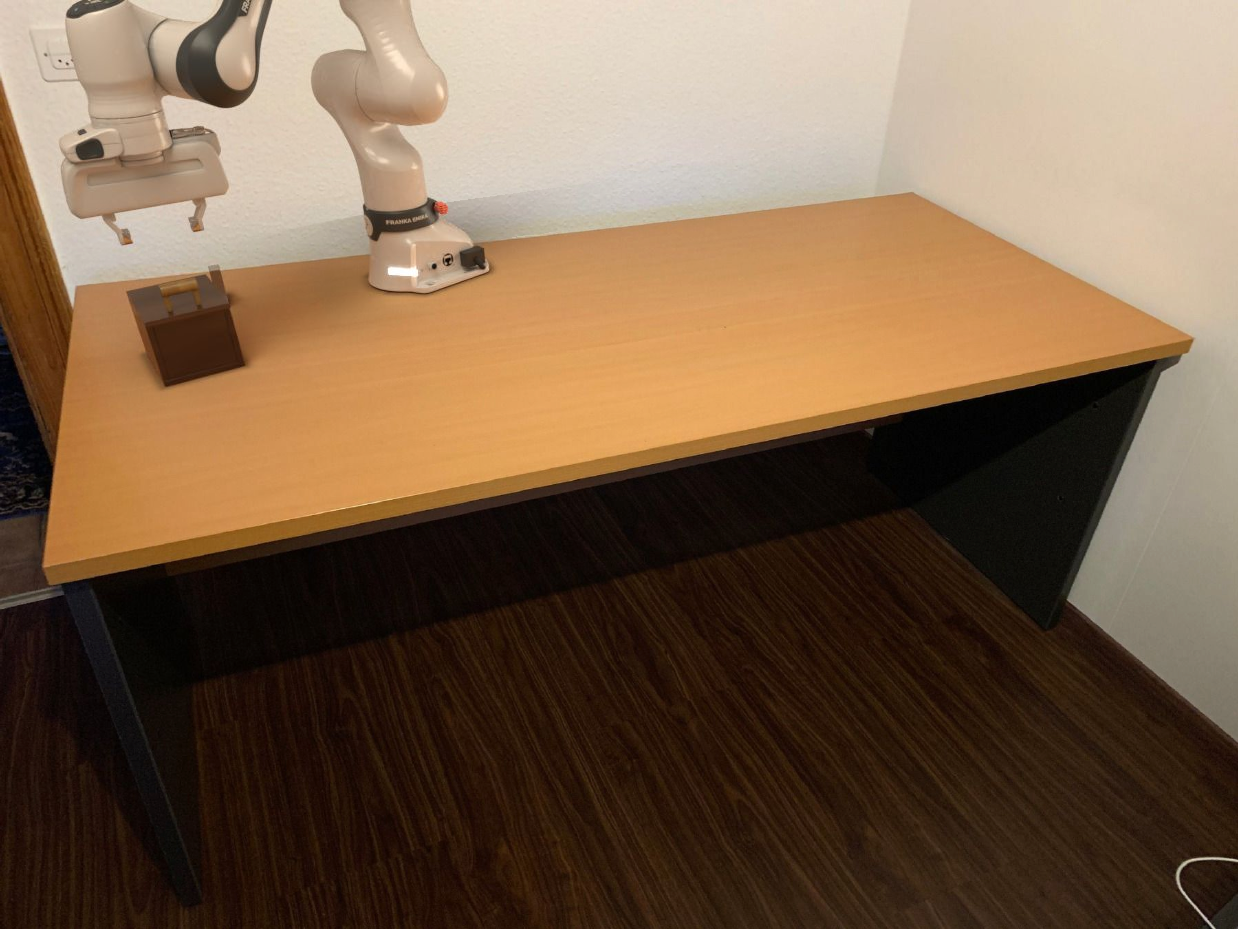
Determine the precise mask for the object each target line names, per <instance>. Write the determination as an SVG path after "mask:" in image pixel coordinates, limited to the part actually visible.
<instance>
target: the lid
mask: <svg viewBox="0 0 1238 929" xmlns="http://www.w3.org/2000/svg"><path fill="white" fill-rule="evenodd" d="M125 294H126V296H127V299H128V298H129V299H130V301H131V303H132V304H133V306H134V308H135V309H136V311H137V313H138V315H139V316H140V318H141V320H142V321H143V323H144V325H145V326H146V327H151V326H155V325H159V324H164V323H168V322H172V321H176V320H181V319H185V318H189V317H193V316H198V315H202V314H206V313H211V312H215V311H219V310H223V309H228V308H230V309H231V308H232V307H231V303H230V302H228V301H229V300H228V301H227V300H226V298H225V297H224V296H223V295H222V294H221V292H220V291H219V290H218V289H217V287H216V286H215V285H214V284H213V283H212V279H211V278H209V276H208V275H207V274H206V273H204V274H199V275H195V276H190V277H186V278H182V279H177V280H171V281H167V282H162V283H158V284H153V285H148V286H143V287H139V288H135V289H130V290H126V291H125ZM129 299H128V300H129Z"/></svg>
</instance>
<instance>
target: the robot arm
mask: <svg viewBox="0 0 1238 929" xmlns="http://www.w3.org/2000/svg"><path fill="white" fill-rule="evenodd" d="M338 3H339V7H340V9H341V11H342V13H343V14H344V15H345V16H346V17H347V19H349V20H350V21H351V22H352V23H354V25H355V26H356V28H357V30H358V31H359V33H360V35H361V37H362V40H363V43H364V47H365V50H363V49H352V48H344V49H339V50H334V51H329V52H326V53H323V54H321V55H319V57H317V59H316V60H315V61H314V65H313V66H312V68H311V75H310V84H311V90H312V93H313V96H314V98H315V100H316V101H317V103H318V104H319V106H320V107H321V108H323V109H324V110H325V111H326V112H327V113H328V114H329V115H330V116H331V117H332V118H333V120H334V121H335V123H336V124H337V126H338V127H339V129H340V130H341V132H342V134H343V136H344V138H345V140H346V142H347V143H348V146H349V147H350V150H351V152H352V155H353V157H354V161H355V163H356V166H357V171H358V176H359V181H360V187H361V191H362V196H363V202H364V203H363V204H362V211H363V221H364V228H365V231H366V234H367V237H368V239H369V240H368V241H369V271H368V279H367V282H368V283H369V285H370V286H372V287H374V288H376V289H379V290H382V291H388V292H412V293H417V294H428V293H429V294H430V293H432V292H435V291H438V290H440V289H443V288H446V287H449V286H452V285H456V284H458V283H461V282H464V281H466V280H469V279H472V278H476V277H477V276H481V275H483V274H486V273H488V272H490V263H489V261H488V260H487V258H486V254H485V248H484V247H482V246H480V245H474V243H473V240H472V239H471V237H470V236H469V235H468V233H467V232H465V231H464V230H463V229H461V228H459V227H457V226H456V225H454V224H453V223H451V222H450V221H447V219H444V218H443V217H441V215H442V216H444V215H446V214H448V212H449V209H450V208H449V205H447V203H445V202H443V201H441V200H440V201H438V200H436V199H434V198H432V197H428V193H427V185H426V179H425V178H426V176H425V168H424V162H423V158H422V156H421V154H420V152H419V151H418V149H416V147H414V146H413V145H412V144H411V143H410V142H409V141H408V140H407V139H406V138H405V136H404V135H403V133H402V132H401V130H400V128H399V126H403V127H416V126H422V125H429V124H434V123H436V122H437V121H438V120H440V118H442V116H443V114H444V113H445V112H446V109H447V106H448V103H449V96H450V95H449V94H450V93H449V83H448V81H447V80H448V79H447V77H446V75H445V73H444V72H443V70H442V68H441V67H440V66H439V65H438V64H437V63H436V62H435V61H434V60H433V58H432V57H431V56H430V55H429V53H428V52H427V50H426V49H425V47H424V44H423V42H422V40H421V38H420V35H419V33H418V30H417V27H416V23H415V20H414V17H413V11H412V5H411V0H338ZM272 4H273V0H216V5H215V7H214V10H213V11H212V12H211V13H210V14H209V15H208V16H206V18H204V19H202V20H200V21H190V20H182V19H175V18H171V17H168V16H163V15H160V14H157V13H154V12H151V11H149V10H146V9H144V8H142V7H140V6H138V5H136V4H134V3H132V2H131V1H129V0H79V1H76V2H75V3H73V4H72V5H71V6H70V7H69V8H68V9H67V10H66V13H65V18H64V25H65V35H66V39H67V44H68V48H69V52H70V56H71V60H72V64H73V67H74V70H75V74H76V77H77V80H78V82H79V83H80V85H81V87H82V88H83V90H84V92H85V95H86V98H87V112H88V116H89V119H90V123H87V124H85V125H84V126H82V127H79V128H77V129H75V130H73V131H71V132H69V133H66V134H64V135H62V136H61V137H60V138H59V140H58V146H59V149H60V152H61V154H62V155H63V157H64V158H63V160H62V162H61V164H60V176H61V183H62V188H63V192H64V197H65V201H66V204H67V208H68V209H69V211H70V213H71V214H72V215H73V216H74V217H76V218H78V219H79V220H83V219H90V218H96V217H101V218H102V220H103V222H104V223H105V224H106V225H107V226H108V227H109V228H110V229H111V230H112V231H113V232H115V234H116V235H117V238H118V242H119V244H120V246H127V245H131V244H133V243H134V241H133V238H132V236H131V231H130V230H129V229H128V228H120V226H118V225H117V224H116V223H115V222H117V218H116V214H120V213H125V212H129V211H136V210H143V209H149V208H155V207H161V206H167V205H172V204H178V203H183V202H192V204H193V205H194V206H195V210H194V214H193V216H188V217H187V219H188V220H187V221H188V223H189V226H190V229H191V231H192V232H193V233H196V232H197V233H198V232H202V231H205V226H204V223H203V218H204V215H205V212H206V209H207V202H206V198H212V197H218V196H225V195H226V194H227V192H228V190H229V188H230V185H229V181H228V177H227V174H226V172H225V167H224V166H223V164H222V162H221V158H220V155H221V151H222V148H221V142H220V140H219V137H218V135H217V133H216V132H215V131H214V130H212V129H210V128H207V127H205V126H204V125H195V126H193V127H184V128H183V127H182V128H181V127H179V128H171V129H170V127H169V125H168V120H167V117H166V114H165V108H164V106H163V102H162V100H163V98H164V97H167V96H170V97H176V98H178V99H179V98H180V99H185V100H191V101H197V102H199V103H202V104H207V105H209V106H213V107H215V108H220V109H232V108H237V107H238V106H240V105H242V104H244V103H245V102H246V101H247V100H248V99H249V98H250V97H251V95H252V94H253V93H254V91H255V89H256V87H257V83H258V79H259V73H260V64H261V62H260V61H261V47H262V41H263V37H264V33H265V29H266V26H267V22H268V19H269V14H270V12H271V8H272ZM398 125H399V126H398Z"/></svg>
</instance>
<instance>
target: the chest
mask: <svg viewBox="0 0 1238 929" xmlns="http://www.w3.org/2000/svg"><path fill="white" fill-rule="evenodd" d="M127 299H128V302H129V305H130V308H131V311H132V314H133V317H134V320H135V323H136V326H137V330H138V332H139V335H140V339H141V341H142V344H143V347H144V350H145V353H146V356H147V358H148V359H149V361H150V363H151V365H152V367H153V369H154V370H155V372H156V374H157V375H158V377H159V379H160V381H161V383H162V384H163V387H165V388H166V387H170V386H174V385H178V384H181V383H187V382H190V381H192V380H196V379H197V380H198V379H201V378H204V377H209V376H211V375H216V374H220V373H223V372H227V371H230V370H236V369H238V368H242V367H245V366H246V364H245V359H244V356H243V352H242V348H241V345H240V341H239V337H238V333H237V330H236V326H235V322H234V319H233V314H232V312H231V311H232V310H231V308H228V309H223V310H219V311H215V312H211V313H206V314H202V315H198V316H193V317H189V318H185V319H181V320H176V321H172V322H168V323H164V324H159V325H155V326H151V327H146V326H145V325H144V323H143V321H142V320H141V318H140V316H139V315H138V313H137V311H136V309H135V308H134V306H133V304H132V303H131V301H130V299H129V298H128V297H127Z"/></svg>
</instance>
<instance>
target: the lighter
mask: <svg viewBox="0 0 1238 929" xmlns="http://www.w3.org/2000/svg"><path fill="white" fill-rule="evenodd" d="M207 268H208V272H209V276H210V280H211V281H212V283H213V284H214V285H215V286H216V287H217V289H218V290H219V291H220V292H221V294H222V295H223V296H224V297H225V298H226V300H227V301H228V302H229V297H228V295H227V291H226V287H225V282H224V280H223V275H222V271H221V268H220V264H213V265H208V266H207ZM229 303H230V302H229Z"/></svg>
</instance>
